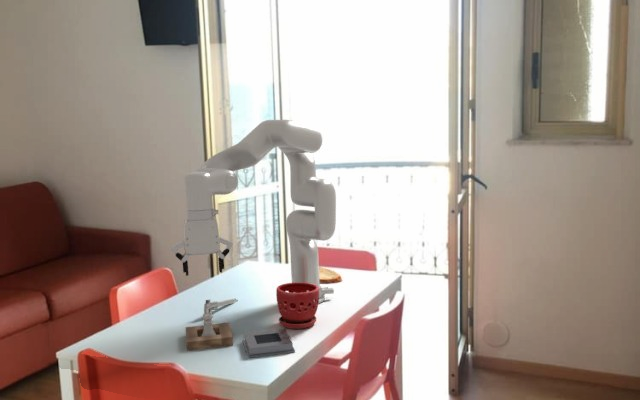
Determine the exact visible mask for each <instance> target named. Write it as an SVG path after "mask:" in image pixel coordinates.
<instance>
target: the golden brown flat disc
mask: <svg viewBox="0 0 640 400" xmlns="http://www.w3.org/2000/svg"><path fill="white" fill-rule="evenodd" d="M319 282H320V284H325V285H326V284H327V285H328V284H339V283H342V282H343V279H342V276H341V274H339V273H338V272H336V271H335V270H331V269H329V268H326V267H323V266H319Z"/></svg>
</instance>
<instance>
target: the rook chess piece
mask: <svg viewBox="0 0 640 400" xmlns="http://www.w3.org/2000/svg"><path fill="white" fill-rule="evenodd" d="M213 318H214V316H213V313H212V314H211V313H209V314H208V313H206V315H205V313H204V312H203V314H202V317H201V319H202V320H203V321H202V324H203V325H204V330H203V334H202V335H201V337H202V336H211V335H216V334H215V332H214V331H213V327H212V324H213V323H214V322H213Z"/></svg>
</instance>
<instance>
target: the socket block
mask: <svg viewBox="0 0 640 400" xmlns="http://www.w3.org/2000/svg"><path fill="white" fill-rule="evenodd" d="M212 327H213V331H214V332H215V334H216V335H211V336H202V337H201V335H202V334H203V330H204V324H202V325H194V326H185V328H184V329H185V338H186V339H185V340H186V349H187V351H196V350H205V349H212V348H220V347H229V346H234V337H233V333H232V330H231V325H230V322H223V323H221V322H220V323H212Z"/></svg>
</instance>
